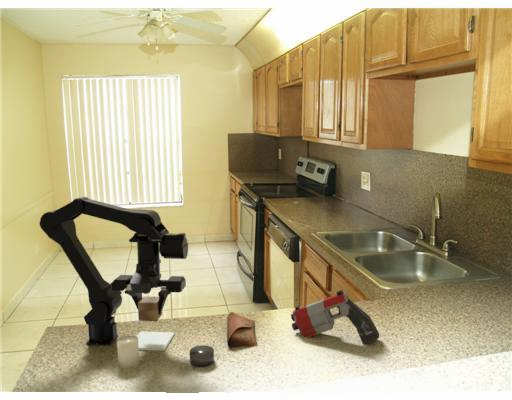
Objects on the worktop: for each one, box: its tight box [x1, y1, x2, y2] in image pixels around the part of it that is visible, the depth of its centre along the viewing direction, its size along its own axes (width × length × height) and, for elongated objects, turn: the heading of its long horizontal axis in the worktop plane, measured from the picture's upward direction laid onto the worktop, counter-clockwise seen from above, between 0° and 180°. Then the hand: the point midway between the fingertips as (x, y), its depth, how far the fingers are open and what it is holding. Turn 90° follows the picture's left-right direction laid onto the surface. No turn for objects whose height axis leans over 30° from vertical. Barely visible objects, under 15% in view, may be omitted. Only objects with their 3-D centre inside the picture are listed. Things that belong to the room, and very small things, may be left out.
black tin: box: [189, 345, 215, 369], centre depth 111 cm, size 6×6×3 cm
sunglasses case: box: [226, 311, 258, 349], centre depth 128 cm, size 18×7×7 cm
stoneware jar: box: [116, 335, 140, 369], centre depth 110 cm, size 5×5×6 cm
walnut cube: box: [137, 295, 163, 322], centre depth 121 cm, size 5×5×5 cm
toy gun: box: [290, 289, 380, 344], centre depth 125 cm, size 5×22×15 cm, turn 73°
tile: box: [135, 331, 176, 352], centre depth 122 cm, size 10×10×1 cm
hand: (150, 313), depth 122 cm, fingers closed on walnut cube, 5 cm apart
